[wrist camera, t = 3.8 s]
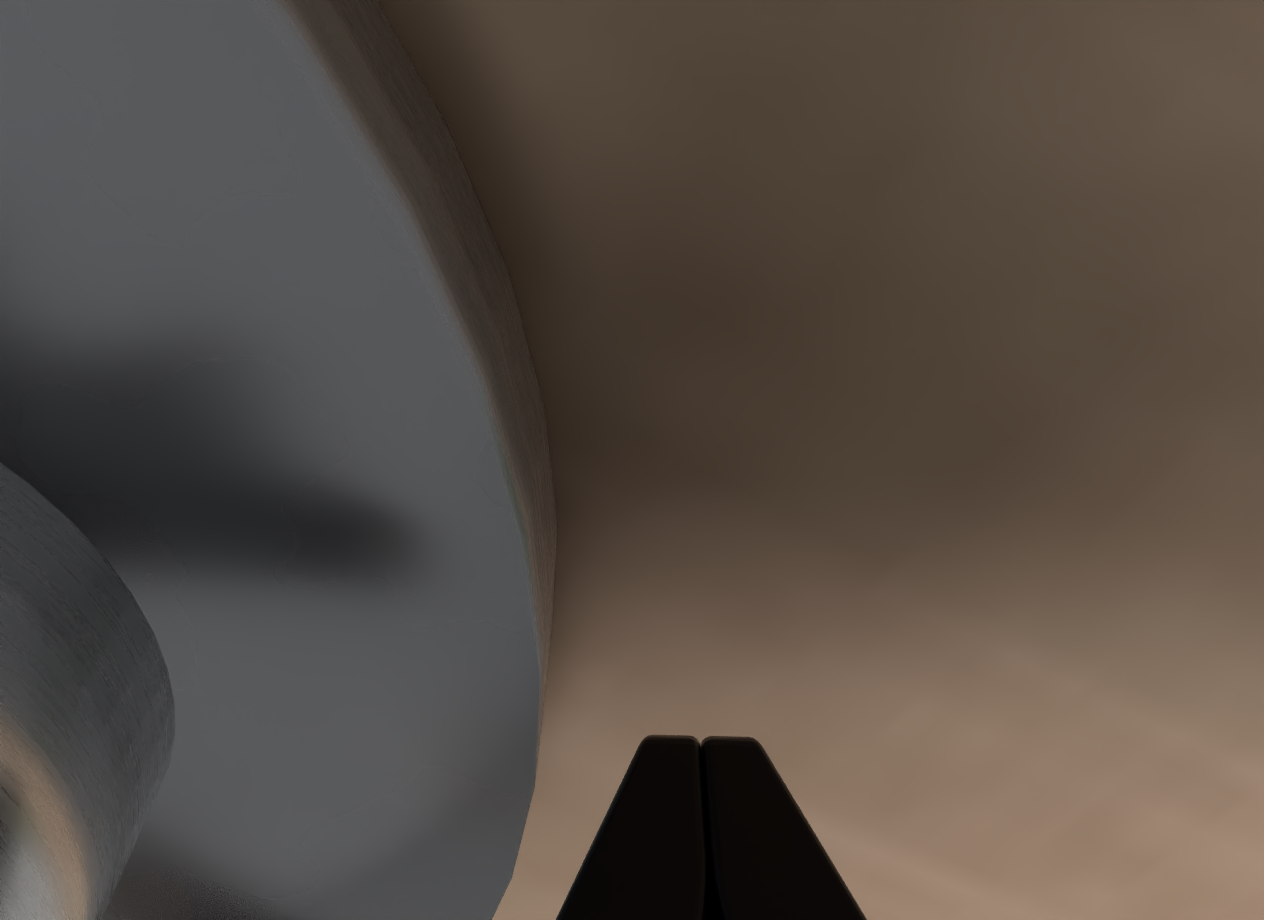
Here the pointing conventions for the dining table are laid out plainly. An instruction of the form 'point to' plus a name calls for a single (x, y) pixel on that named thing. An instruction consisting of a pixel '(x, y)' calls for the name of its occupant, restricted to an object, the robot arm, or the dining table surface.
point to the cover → (71, 715)
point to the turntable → (284, 443)
